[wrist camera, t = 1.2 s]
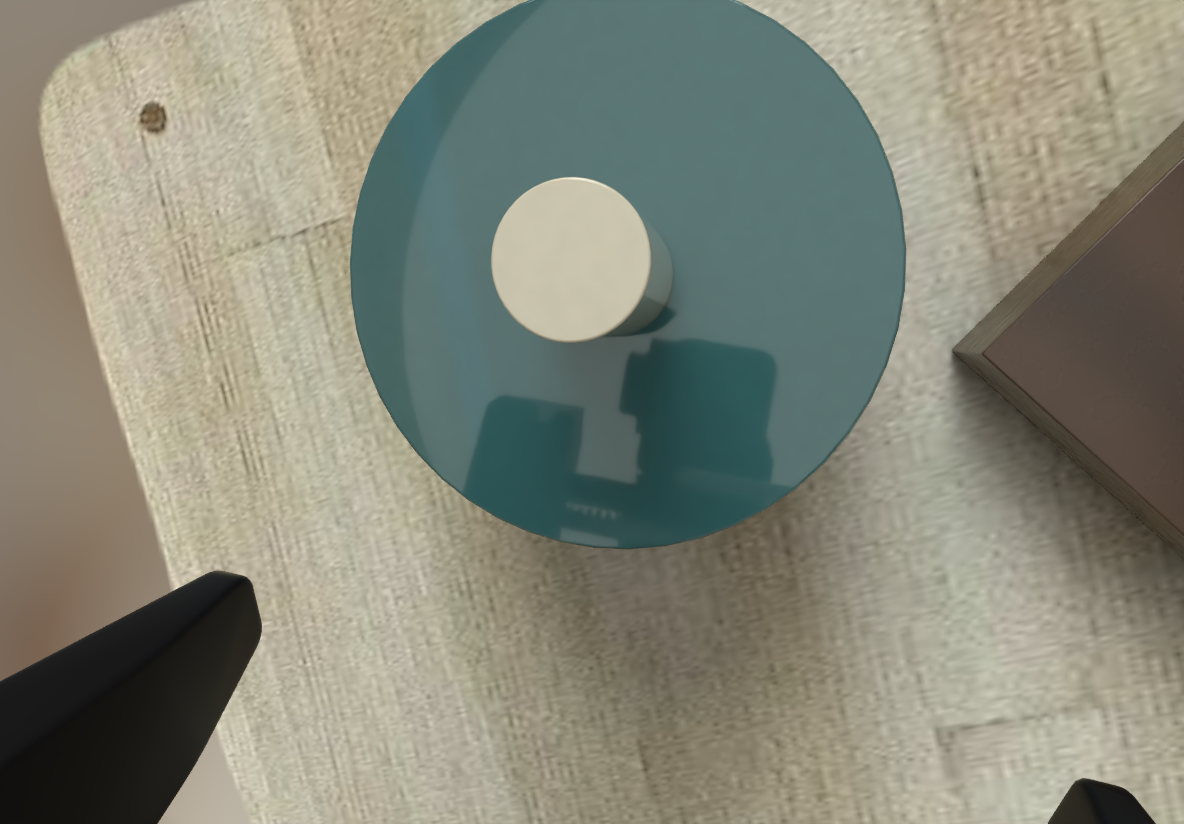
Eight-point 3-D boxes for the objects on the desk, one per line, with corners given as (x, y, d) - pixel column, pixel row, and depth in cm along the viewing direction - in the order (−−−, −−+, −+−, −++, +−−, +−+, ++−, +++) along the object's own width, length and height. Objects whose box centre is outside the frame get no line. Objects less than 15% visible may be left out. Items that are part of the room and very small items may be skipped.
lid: (867, 562, 18) (917, 658, 13) (367, 509, 20) (235, 575, 15) (923, -2, 16) (1004, -151, 11) (379, 4, 18) (238, -118, 13)
